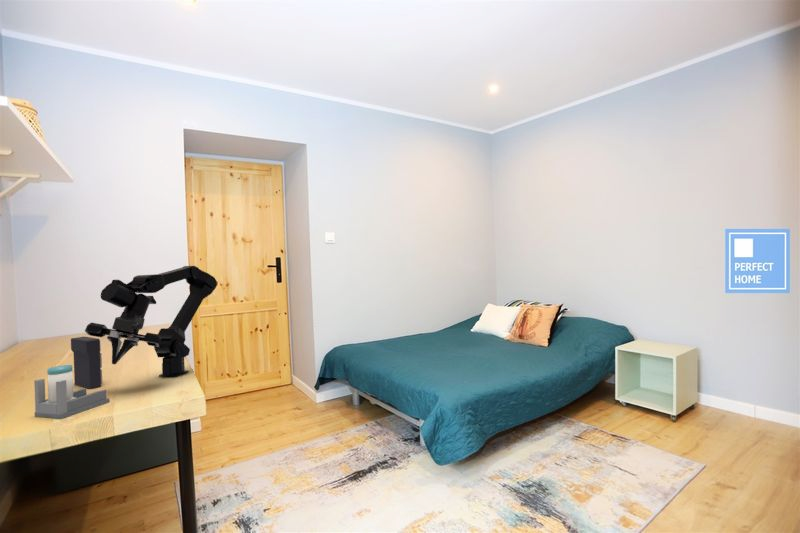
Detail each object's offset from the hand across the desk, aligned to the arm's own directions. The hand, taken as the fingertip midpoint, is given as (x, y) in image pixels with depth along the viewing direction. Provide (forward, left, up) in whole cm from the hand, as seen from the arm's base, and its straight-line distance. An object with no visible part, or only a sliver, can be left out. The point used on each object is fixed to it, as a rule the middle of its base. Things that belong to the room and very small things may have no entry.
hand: (113, 364), depth 114 cm
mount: (+11, -1, -9) cm, 14 cm away
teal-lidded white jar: (+14, -1, -8) cm, 16 cm away
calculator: (-7, -18, -9) cm, 21 cm away
